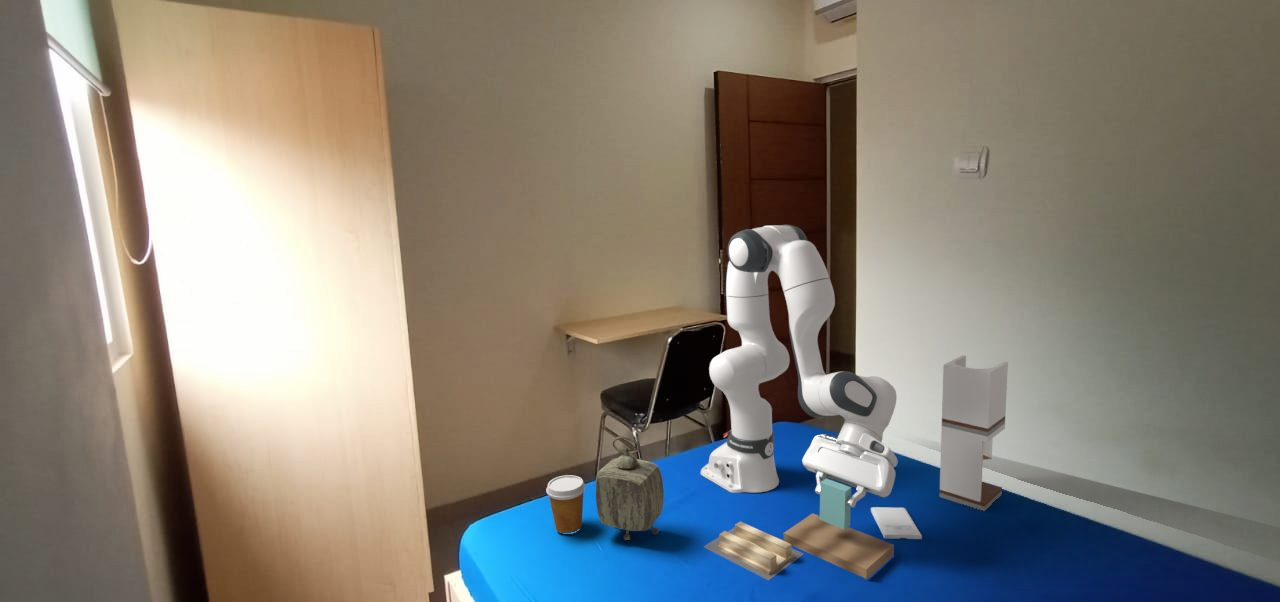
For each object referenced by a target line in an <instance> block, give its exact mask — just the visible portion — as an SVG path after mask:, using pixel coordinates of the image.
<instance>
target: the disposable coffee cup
mask: <svg viewBox="0 0 1280 602" xmlns="http://www.w3.org/2000/svg"><path fill="white" fill-rule="evenodd" d="M585 489H586V484H585V483H584V480H583V479H582V477H580V476H577V475H574V474H573V475H572V474H571V475H570V474H569V475H568V474H565V475H561V476H557V477H554V478H552V479H551V480H550V481H549V482H548V483H547V487H546V494H547V496H548V498H549V499H548V500H549V503H550V507H551V512H552V516H553V521H554V526H555V527H554V528H555V531H556V530H557V531H558V532H561V533H571V532H575V531H577V530H578V529H580V528H581V526H582V527H583V524H582V523H583V512H584V511H583V509H584V507H583V506H584V492H585ZM581 529H582V528H581ZM557 531H556V532H557Z"/></svg>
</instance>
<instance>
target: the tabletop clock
mask: <svg viewBox="0 0 1280 602" xmlns="http://www.w3.org/2000/svg"><path fill="white" fill-rule="evenodd" d="M618 440H625V441H626V440H627V441H631V442H633V443H634V444H635V445H636V447H637V449H636V450H633V451H632V450H631V451H630V450H629V448H628V447H624V448H623V449H621V448H618V447H617V446H616V445H615V443H616V441H618ZM612 447H613V448H614V450H615V451H616V452H619V453H620V454H621V455H619V457H616V458H612V459H610V461H608V463H606V464H605V465H604V466H603V467H602V468H600V469H599V471H598V472H597V475H596V478H595V503H596V510H597V512H596V513H597V516H598V520H599V522H601V524H603V525H605V526H607V527H608V526H609V527H610V528H611V527H612V528H615V529H620V530H625V534H624V536H623V540H624V541H625V540H629V541H631V535H630V534H629V533H630V532H644V531H649V529H651V532H652V534H653V535H655V536H656V535H658V534H659V532H660V530H659V528H658V527H654V526H653V524H654V523H655V522H656V521H657V519H659V517H660V516H661V514H662V512H663V510H664V503H665V501H664V498H665V491H664V490H665V489H664V488H665V487H664V481H663V475H662V471H661V469H660V467H659V465H657V464H655V463H654V462H651V461H647V460H644V459H643V460H642V459H638V458H636V456H635V454H637V453H638V452H639V451H640V444H639V442H638V441H637V440H636V439H634V438H633V437H630V436H624V435H622V436H621V435H619V436H617V437H615V438H614V439H613V441H612ZM629 531H630V532H629Z"/></svg>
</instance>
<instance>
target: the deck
mask: <svg viewBox="0 0 1280 602" xmlns="http://www.w3.org/2000/svg"><path fill="white" fill-rule="evenodd" d="M783 541H785V542H787V543H790V544H791V547H795V548H797V549H798V550H801V551H803V552H806V553H808V554H810V555H812V556H814V557H817V558H819V559H821V560H824V561H825V562H828V563H831V564H832V565H834V566H837V567H839V568H841V569H843V570H846V571H848V572H850V573H852V574H854V575H857V576H859V577H862V578H864V579H865V581H867V580H869V579H870V578H871V577H872V576H873V575H875V573H877V571H879V570H880V569H881V568H882V567H883V566H884V565H885V564H886V563H887V562H888V561H890V560H891V559H892V558H893V557H894V556H895V555H894V553H895V551H894V550H895V546H894V544H892V543H890V542H887V541H884V540H883V539H882V540H881V539H879V538H878V537H874V536H872V535H869V534H867V533H864V532H861V531H859V530H856V529H854V528H851V527H850V526H848V527H847V528H846V529H845V530H844V529H841V528H839V527H836V526H834V525H832V524H829V523H827V522H824V521H822V520H820V515H819V514H815V513H813V512H812V513H811V514H809V515H808V516H806V517H805V518H804V519H801V520H800V521H799V522H797V523H796V524H795V525H793V526H792V527H789V529H787V530H786V531H785V532H783Z"/></svg>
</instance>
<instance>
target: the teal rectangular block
mask: <svg viewBox="0 0 1280 602" xmlns="http://www.w3.org/2000/svg"><path fill="white" fill-rule="evenodd" d="M848 496H851V497H852V486H850V485H847V484H844V483H842V482H839V481H836V480H833V479H830V478H828V477H826V479H825V480H822V482H820V495H819V516H820V520H822V521H824V522H827V523H829V524H832V525H834V526H836V527H839V528H841V529H844V530H845V529H846V528H847V527H850V526H851V511H852V510H851V508H852V507H850V506H848V505H847V504H846V500H847V497H848Z"/></svg>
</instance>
